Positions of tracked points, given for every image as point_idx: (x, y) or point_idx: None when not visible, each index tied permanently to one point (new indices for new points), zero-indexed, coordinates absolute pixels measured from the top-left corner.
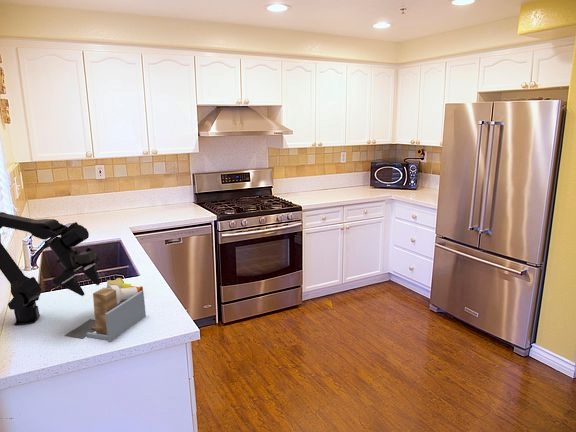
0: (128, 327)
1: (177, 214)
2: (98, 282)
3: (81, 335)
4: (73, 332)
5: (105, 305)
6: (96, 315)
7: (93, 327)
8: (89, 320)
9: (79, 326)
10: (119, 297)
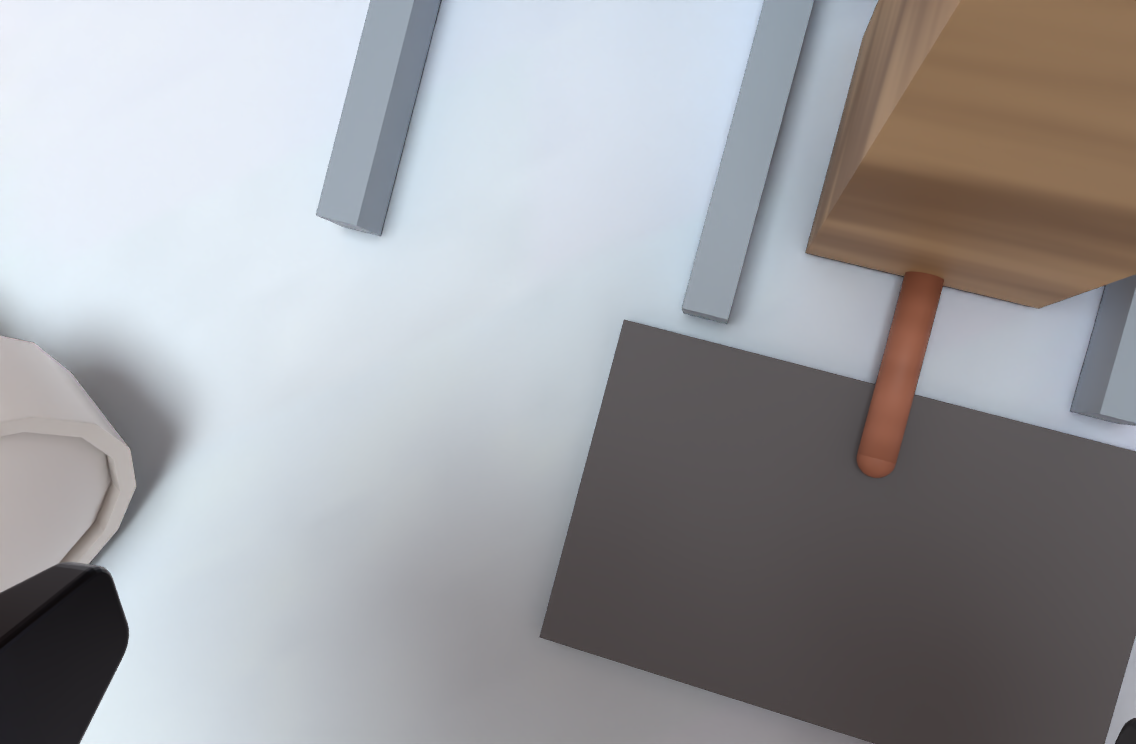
0: None
1: None
2: (53, 611)
3: (1088, 526)
4: (984, 704)
5: None
6: None
7: (898, 419)
8: (585, 627)
9: (786, 697)
10: (1, 344)
